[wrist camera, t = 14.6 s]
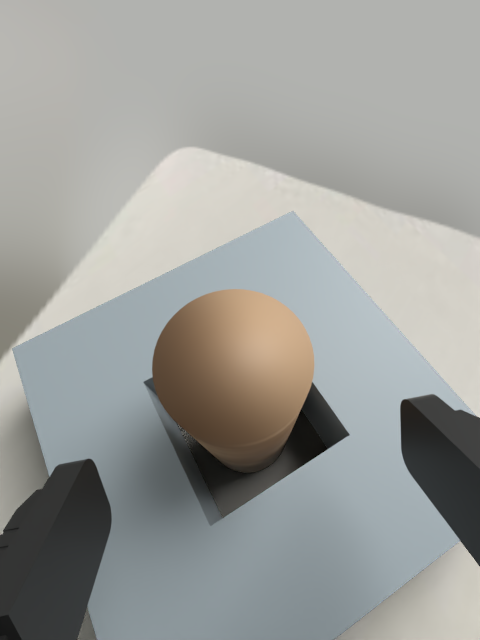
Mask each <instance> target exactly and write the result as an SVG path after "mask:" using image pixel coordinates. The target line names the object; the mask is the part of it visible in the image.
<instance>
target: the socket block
mask: <svg viewBox="0 0 480 640" xmlns="http://www.w3.org/2000/svg"><path fill="white" fill-rule="evenodd" d="M228 289H244V290H251V291H256V292H259V293H263V294H265V295H268V296H270V297H272V298H274V299H276V300H278V301H279V302H281V303H282V304H284V305H285V306H287V307H288V308H289V309H290V310H291V311H292V312H293V313H294V314H295V315H296V316H297V317H298V319H299V320H300V321H301V323H302V324H303V326H304V327H305V329H306V331H307V333H308V335H309V337H310V341H311V344H312V347H313V353H314V375H313V380H312V384H311V388H310V390H309V393H308V395H307V397H306V400H305V402H304V404H303V406H302V408H301V409H302V411H303V412H304V414H305V415H306V417H307V418H308V420H309V421H310V423H311V424H312V426H313V427H314V429H315V430H316V432H317V433H318V435H319V436H320V438H321V439H322V441H323V442H324V444H325V445H326V447H327V448H328V449H327V450H326V451H324V452H323V453H321V454H320V455H318V456H317V457H315V458H314V459H312V460H311V461H309V462H308V463H306V464H305V465H303V466H302V467H300V468H298V469H297V470H295V471H294V472H292V473H291V474H289V475H288V476H286V477H285V478H283V479H282V480H280V481H279V482H277V483H276V484H274V485H273V486H271V487H269V488H268V489H266V490H265V491H263V492H262V493H260V494H259V495H257V496H256V497H254V498H253V499H251V500H250V501H248V502H247V503H245V504H244V505H242V506H241V507H239V508H237V509H236V510H234V511H233V512H231V513H230V514H228V515H227V516H225V517H224V518H222V516H221V514H220V512H219V510H218V507H217V505H216V503H215V501H214V499H213V497H212V495H211V493H210V491H209V489H208V487H207V485H206V483H205V481H204V479H203V476H202V474H201V472H200V470H199V468H198V466H197V464H196V462H195V460H194V458H193V456H192V454H191V452H190V450H189V447H188V445H187V443H186V441H185V439H184V437H183V435H182V433H181V431H180V429H179V427H178V425H177V423H176V421H174V420H173V419H172V418H171V417H170V415H169V414H168V413H167V411H166V410H165V409H164V407H163V405H162V404H161V402H160V400H159V398H158V395H157V393H156V390H155V386H154V382H153V375H152V360H153V354H154V349H155V346H156V343H157V340H158V338H159V336H160V334H161V332H162V330H163V329H164V327H165V326H166V324H167V323H168V321H169V320H170V319H171V318H172V317H173V316H174V315H175V314H176V313H177V312H178V311H179V310H180V309H181V308H182V307H184V306H185V305H186V304H188V303H189V302H191V301H193V300H195V299H196V298H198V297H201V296H203V295H205V294H208V293H212V292H215V291H220V290H228ZM12 350H13V354H14V357H15V360H16V364H17V367H18V371H19V374H20V378H21V381H22V384H23V388H24V391H25V395H26V398H27V402H28V405H29V409H30V412H31V415H32V419H33V422H34V426H35V429H36V433H37V436H38V439H39V443H40V446H41V450H42V453H43V457H44V460H45V463H46V467H47V470H48V474H49V477H50V475H51V474H52V472H53V470H54V469H55V467H56V466H57V465H59V464H63V463H69V462H74V461H79V460H84V459H92V460H93V461H94V463H95V465H96V467H97V470H98V473H99V476H100V478H101V481H102V484H103V487H104V490H105V492H106V495H107V498H108V501H109V503H110V507H111V515H112V522H111V530H110V534H109V537H108V541H107V544H106V547H105V550H104V554H103V557H102V560H101V563H100V567H99V570H98V573H97V576H96V579H95V583H94V586H93V589H92V592H91V596H90V599H89V602H88V605H87V607H88V611H89V614H90V618H91V621H92V625H93V628H94V632H95V635H96V638H97V640H334V639H335V638H337V637H338V636H339V635H341V634H342V633H343V632H344V631H346V630H347V629H348V628H349V627H351V626H352V625H353V624H355V623H356V622H357V621H358V620H360V619H361V618H362V617H364V616H365V615H366V614H367V613H369V612H370V611H371V610H372V609H374V608H375V607H376V606H378V605H379V604H380V603H381V602H383V601H384V600H385V599H387V598H388V597H389V596H390V595H392V594H393V593H394V592H395V591H397V590H398V589H399V588H401V587H402V586H403V585H404V584H406V583H407V582H408V581H410V580H411V579H412V578H413V577H415V576H416V575H417V574H418V573H420V572H421V571H422V570H424V569H425V568H426V567H427V566H429V565H430V564H431V563H433V562H434V561H435V560H436V559H438V558H439V557H440V556H441V555H443V554H444V553H445V552H447V551H448V550H449V549H450V548H452V547H453V546H454V545H456V544H457V543H458V542H459V541H460V539H459V538H458V537H457V535H456V534H455V533H454V531H453V530H452V529H451V527H450V526H449V525H448V524H447V522H446V521H445V520H444V518H443V517H442V516H441V514H440V513H439V512H438V510H437V509H436V508H435V506H434V505H433V504H432V502H431V501H430V500H429V498H428V497H427V496H426V494H425V493H424V492H423V490H422V489H421V488H420V486H419V485H418V484H417V482H416V481H415V480H414V478H413V477H412V476H411V474H410V473H409V471H408V469H407V467H406V465H405V462H404V460H403V456H402V451H401V421H400V405H401V401H402V400H403V399H408V398H413V397H418V396H424V395H429V394H434V395H436V396H438V397H439V398H440V399H442V400H443V401H444V402H445V403H446V404H448V405H449V406H450V407H451V408H452V409H454V410H455V411H456V410H463V411H465V412H468V413H470V414H472V415H474V416H476V415H475V414H474V413H473V412H472V411H471V410H470V409H469V407H468V406H467V405H466V404H465V403H464V402H463V401H462V400H461V398H460V397H459V396H458V395H457V394H456V393H455V392H454V391H453V389H452V388H451V387H450V386H449V385H448V384H447V383H446V382H445V381H444V379H443V378H442V377H441V376H440V375H439V374H438V373H437V372H436V370H435V369H434V368H433V367H432V366H431V365H430V364H429V363H428V361H427V360H426V359H425V358H424V357H423V356H422V355H421V354H420V353H419V351H418V350H417V349H416V348H415V347H414V346H413V345H412V344H411V342H410V341H409V340H408V339H407V338H406V337H405V336H404V335H403V334H402V332H401V331H400V330H399V329H398V328H397V327H396V326H395V325H394V323H393V322H392V321H391V320H390V319H389V318H388V317H387V316H386V314H385V313H384V312H383V311H382V310H381V309H380V308H379V307H378V306H377V304H376V303H375V302H374V301H373V300H372V299H371V298H370V297H369V295H368V294H367V293H366V292H365V291H364V290H363V289H362V288H361V286H360V285H359V284H358V283H357V282H356V281H355V280H354V279H353V278H352V276H351V275H350V274H349V273H348V272H347V271H346V270H345V269H344V267H343V266H342V265H341V264H340V263H339V262H338V261H337V260H336V258H335V257H334V256H333V255H332V254H331V253H330V252H329V251H328V250H327V248H326V247H325V246H324V245H323V244H322V243H321V242H320V241H319V239H318V238H317V237H316V236H315V235H314V234H313V233H312V232H311V230H310V229H309V228H308V227H307V226H306V225H305V224H304V223H303V222H302V220H301V219H300V218H299V217H298V216H297V215H296V214H295V213H294V211H291V212H289V213H287V214H285V215H283V216H281V217H279V218H277V219H275V220H273V221H271V222H269V223H267V224H265V225H263V226H261V227H259V228H257V229H255V230H253V231H251V232H249V233H247V234H245V235H243V236H240V237H238V238H236V239H234V240H232V241H230V242H228V243H226V244H224V245H222V246H220V247H218V248H216V249H214V250H212V251H210V252H208V253H206V254H204V255H202V256H200V257H198V258H196V259H194V260H192V261H189V262H187V263H185V264H183V265H181V266H179V267H177V268H175V269H173V270H171V271H169V272H167V273H165V274H163V275H161V276H159V277H157V278H155V279H153V280H151V281H149V282H147V283H145V284H143V285H141V286H139V287H136V288H134V289H132V290H130V291H128V292H126V293H124V294H122V295H120V296H118V297H116V298H114V299H112V300H110V301H108V302H106V303H104V304H102V305H100V306H98V307H96V308H94V309H92V310H90V311H88V312H85V313H83V314H81V315H79V316H77V317H75V318H73V319H71V320H69V321H67V322H65V323H63V324H61V325H59V326H57V327H55V328H53V329H51V330H49V331H47V332H45V333H43V334H41V335H39V336H37V337H35V338H32V339H30V340H28V341H26V342H24V343H22V344H20V345H18V346H16V347H14V348H12Z"/></svg>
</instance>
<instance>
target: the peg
mask: <svg viewBox="0 0 480 640" xmlns="http://www.w3.org/2000/svg"><path fill="white" fill-rule="evenodd" d="M152 375H153V382H154V386H155V390H156V393H157V395H158V398H159V400H160V402H161V404H162V405H163V407H164V409H165V410H166V411H167V413H168V414H169V415H170V417H171V418H172V419H173V420H174V421H176V422H177V423H178V424H179V425H180V426H181V427H182V428H183V429H184V430H185V431H186V432H188V433H189V434H190V435H191V436H192V437H193V438H194V439H195V440H196V441H198V442H199V443H200V444H201V445H202V446H203V447H204V448H205V449H207V450H208V451H209V452H210V453H211V454H212V455H213V456H214V457H215V458H217V459H218V460H219V461H220V462H221V463H222V464H224V465H225V466H226V467H228V468H230V469H232V470H235V471H239V472H246V473H248V472H256V471H259V470H262V469H264V468H266V467H268V466H269V465H271V464H272V463H273V462H274V461H275V460H276V459H277V458H278V457H279V455H280V454H281V452H282V450H283V448H284V446H285V444H286V442H287V439H288V437H289V435H290V433H291V431H292V428H293V426H294V424H295V422H296V420H297V417H298V415H299V413H300V411H301V408H302V406H303V404H304V402H305V400H306V397H307V395H308V393H309V390H310V388H311V384H312V380H313V375H314V353H313V347H312V344H311V341H310V337H309V335H308V333H307V331H306V329H305V327H304V326H303V324H302V323H301V321H300V320H299V319H298V317H297V316H296V315H295V314H294V313H293V312H292V311H291V310H290V309H289V308H288V307H287V306H285V305H284V304H282V303H281V302H279V301H278V300H276V299H274V298H272V297H270V296H268V295H265V294H263V293H259V292H256V291H251V290H244V289H228V290H220V291H215V292H212V293H208V294H205V295H203V296H201V297H198V298H196V299H195V300H193V301H191V302H189V303H188V304H186V305H185V306H184V307H182V308H181V309H180V310H179V311H178V312H177V313H176V314H175V315H174V316H173V317H172V318H171V319H170V320H169V321H168V323H167V324H166V326H165V327H164V329H163V330H162V332H161V334H160V336H159V338H158V340H157V343H156V346H155V349H154V354H153V360H152Z"/></svg>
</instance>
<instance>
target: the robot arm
mask: <svg viewBox="0 0 480 640" xmlns="http://www.w3.org/2000/svg"><path fill="white" fill-rule="evenodd" d="M400 421H401V451H402V456H403V460H404V462H405V465H406V467H407V469H408V471H409V473H410V474H411V476H412V477H413V478H414V480H415V481H416V482H417V484H418V485H419V486H420V488H421V489H422V490H423V492H424V493H425V494H426V496H427V497H428V498H429V500H430V501H431V502H432V504H433V505H434V506H435V508H436V509H437V510H438V512H439V513H440V514H441V516H442V517H443V518H444V520H445V521H446V522H447V524H448V525H449V526H450V527H451V529H452V530H453V531H454V533H455V534H456V535H457V537H458V538H459V539H460V541H461V542H462V543H463V545H464V546H465V547H466V549H467V550H468V551H469V553H470V554H471V555H472V557H473V558H474V559H475V561H476V562H477V563H478V565H479V566H480V418H479V417H477V416H474V415H472V414H470V413H468V412H465V411H463V410H456V411H455V410H454V409H452V408H451V407H450V406H449V405H448V404H446V403H445V402H444V401H443V400H442V399H440V398H439V397H438V396H436V395H434V394H429V395H424V396H418V397H413V398H408V399H403V400H402V401H401V405H400ZM111 522H112V515H111V507H110V503H109V501H108V498H107V495H106V492H105V490H104V487H103V484H102V481H101V478H100V476H99V473H98V470H97V467H96V465H95V463H94V461H93V460H92V459H84V460H79V461H74V462H69V463H63V464H59V465H57V466H56V467H55V469H54V470H53V472H52V474H51V475H50V477H49V479H48V480H47V482H46V484H45V486H44V487H43V489H41V490H36V491H35V492H34V493H33V494H32V495H31V496H30V497H29V498H28V499H27V500H26V501H25V502H24V503H23V504H22V505H21V506H20V507H19V508H18V509H17V510H16V511H15V513H14V515H13V516H12V518H11V519H10V521H9V522H8V524H7V525H6V527H5V529H4V530H3V534H2V535H0V640H77V638H78V635H79V631H80V628H81V625H82V622H83V618H84V615H85V612H86V609H87V605H88V602H89V599H90V596H91V592H92V589H93V586H94V583H95V579H96V576H97V573H98V570H99V567H100V563H101V560H102V557H103V554H104V550H105V547H106V544H107V541H108V537H109V534H110V530H111Z"/></svg>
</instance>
